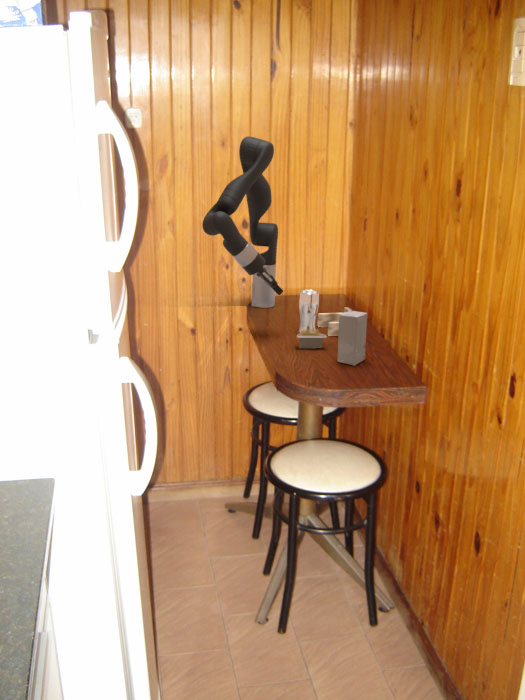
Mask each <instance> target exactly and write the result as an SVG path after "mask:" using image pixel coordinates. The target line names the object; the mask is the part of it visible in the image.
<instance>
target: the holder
mask: <svg viewBox="0 0 525 700" xmlns="http://www.w3.org/2000/svg"><path fill="white" fill-rule="evenodd" d="M348 311H353V309H352V308H350V307H349V306H347V307H346V306H345V307H343V312H322V313H320V312H319V313H318V312H317V326H318V327H317V328H319V327H321V328H327V335H328V336H338V335H339V315H340V314H343V313H344V312H348ZM328 336H327V337H328Z"/></svg>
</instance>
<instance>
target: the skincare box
mask: <svg viewBox="0 0 525 700" xmlns="http://www.w3.org/2000/svg"><path fill="white" fill-rule="evenodd" d="M342 313H343V314H340V315H339V335H338V338H337V339H338V340H337V342H338V343H337V363H341V364H347V365H351V366H354V367H355V366H356V365H358V364H360V363H361V362H363V361H365V359H366V346H367V345H366V344H367V343H366V341H367V326H368V325H367V324H368V312H363V311H357V310H352V311H348V312H344V311H343V312H342Z"/></svg>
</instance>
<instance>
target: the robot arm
mask: <svg viewBox="0 0 525 700" xmlns="http://www.w3.org/2000/svg"><path fill="white" fill-rule="evenodd" d="M238 149H239V150H238V151H239V152H238V154H239V161H240V166H241V169H242V174H240V175H238V176H237V177H235V178H234V179H232V180H231V181H229V183H227V185H226V186H225V188H224V189H223V191H222V192H221V194H220V196H219V198H218V200H217V201H216V203H214V205H213V206H212V207H211V208H210V209H209V210H208V212H207V213H206V215H205V216H204V218H203V220H202V230H203V232H205V234H206V235H208V236H217V235H221V236H222V238H223V241H222V245H223V246H222V247H224V249H226V251H227V252H228V253H229V254H230V255H231V256H232V258H233V259H234V260H235V262H236V263H238V265H239V266H241V268H242V269H243V270H244V271H245V272H246V274H248V275H249V276H252V282H251V284H252V285H251V307H256V308H259V309H260V308H262V309H263V308H266V309H267V308H272V307H274V306H275V301H276V300H275V299H276V298H275V297H276V294H277V295H278V296H280V295H282V293H284V290H283V288H281V287H280V286H279V285H278V282H277V281H276V277H277V276H276V275H277V273H276V271H277V270H276V269H277V251H278V248H277V247H278V237H279V226H278V224H277V223H274V222H272V223H271V222H260V220H261V218H262V217H263V216H264V215H265V214H266V213H267V211H268V210H269V209H270V207H271V205H272V189H271V185H270V183H269V181H268V180H267V179H266V177H265V176H264V175H263V173H264V172H265V171H266V170H267V169H268V167H269V166H270V164H271V162H272V160H273V157H274V153H275V147H274V145H273V143H272V142H270V141H268V140H265V139H261V138H258V137H256V136H255V137H254V136H250V135H249V136H245V137H243V139H242V140H241V141H240V143H239V148H238ZM245 196H246V203H247V210H248V217H249V218H248V219H249V238H250V242H251V243H249V242H248V240H247V239H245V237H244V236H243V235H242V234H241V233H240V231H239V229H238V227H237V225H236V224H235V221H234V220H233V218H232V217H231V215H233V214H235V213H236V211H237V210H238V208H239V207H240V205H241V203H242V202H243V200H244V198H245ZM254 246H255V247H267V248H268V249H267V250H266V251H263V252H261V253H259V251H258V250H257V249H256V248H255V247H254Z"/></svg>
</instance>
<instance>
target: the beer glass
mask: <svg viewBox="0 0 525 700" xmlns="http://www.w3.org/2000/svg"><path fill="white" fill-rule="evenodd" d="M319 294H320V292H319V291H318V290H315V289H301V290H300V292H299V300H298V311H299V319H300V320H299V321H300V324H299V328H298V332H300V333H302V329H316V319H317V317H318V311H319V304H320V303H319V302H320V298H319V297H320V295H319ZM303 331H304V330H303ZM307 331H308V333H310V331H309V330H306V332H307ZM311 331H312V333H315V332H314V331H315V330H311Z"/></svg>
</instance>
